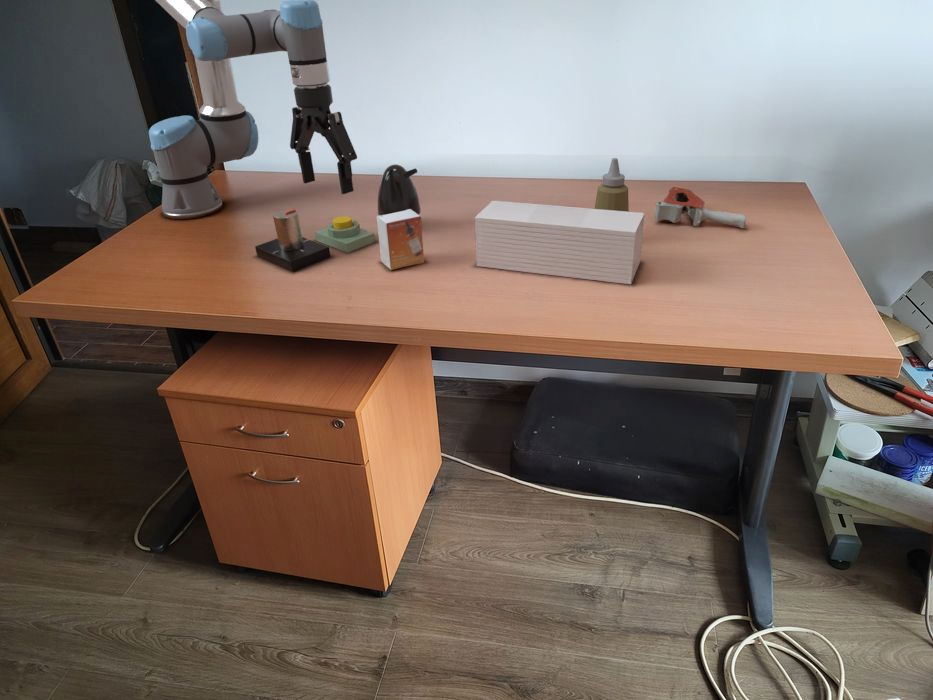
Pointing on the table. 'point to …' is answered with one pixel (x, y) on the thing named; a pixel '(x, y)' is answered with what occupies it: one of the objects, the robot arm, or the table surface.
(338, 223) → the button
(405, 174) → the pump dispenser
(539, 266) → the white ridged block
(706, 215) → the tape dispenser
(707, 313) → the table surface
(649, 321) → the table surface
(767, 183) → the table surface
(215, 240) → the table surface
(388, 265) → the small box
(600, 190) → the squeeze bottle
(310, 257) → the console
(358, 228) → the button box
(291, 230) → the dial
